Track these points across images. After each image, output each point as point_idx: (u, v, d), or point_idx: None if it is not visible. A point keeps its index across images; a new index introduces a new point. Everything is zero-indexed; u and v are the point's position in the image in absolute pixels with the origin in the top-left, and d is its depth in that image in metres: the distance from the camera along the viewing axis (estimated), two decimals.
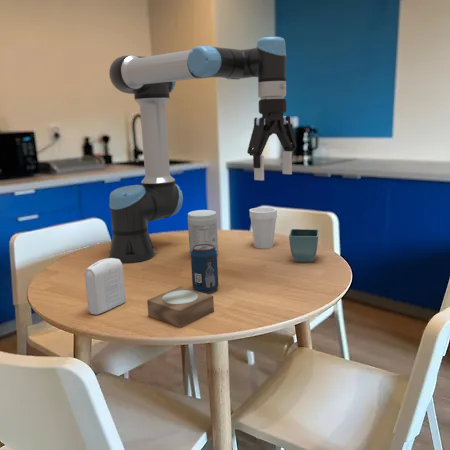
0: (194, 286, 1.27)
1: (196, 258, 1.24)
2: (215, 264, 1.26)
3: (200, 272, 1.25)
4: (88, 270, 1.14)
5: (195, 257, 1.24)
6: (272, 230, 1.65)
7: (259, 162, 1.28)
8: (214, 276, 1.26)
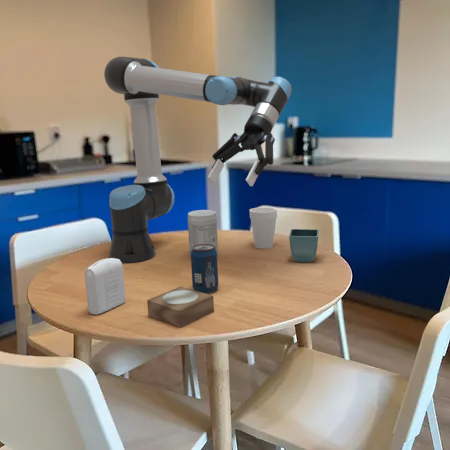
0: (194, 286, 1.27)
1: (196, 258, 1.24)
2: (215, 264, 1.26)
3: (200, 272, 1.25)
4: (88, 270, 1.14)
5: (195, 257, 1.24)
6: (272, 230, 1.65)
7: None
8: (214, 276, 1.26)
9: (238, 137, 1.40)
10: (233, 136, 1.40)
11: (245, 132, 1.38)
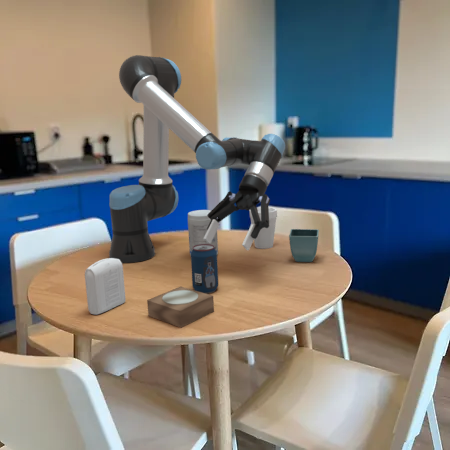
0: (194, 286, 1.27)
1: (196, 258, 1.24)
2: (215, 264, 1.26)
3: (200, 272, 1.25)
4: (88, 270, 1.14)
5: (195, 257, 1.24)
6: (272, 230, 1.65)
7: None
8: (214, 276, 1.26)
9: (233, 196, 1.40)
10: (228, 195, 1.40)
11: (240, 191, 1.38)
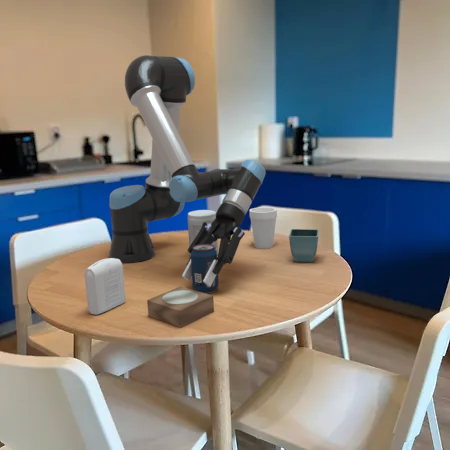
0: (194, 286, 1.27)
1: (196, 258, 1.24)
2: None
3: (200, 272, 1.25)
4: (88, 270, 1.14)
5: (195, 257, 1.24)
6: (272, 230, 1.65)
7: None
8: None
9: (209, 225, 1.35)
10: (204, 226, 1.35)
11: (215, 219, 1.34)
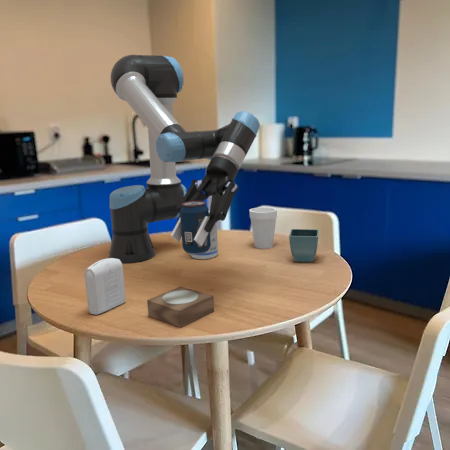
0: (184, 246, 1.16)
1: (185, 215, 1.13)
2: None
3: (190, 230, 1.14)
4: (88, 270, 1.14)
5: (184, 213, 1.13)
6: (272, 230, 1.65)
7: None
8: None
9: (199, 182, 1.23)
10: (193, 182, 1.23)
11: (206, 175, 1.23)
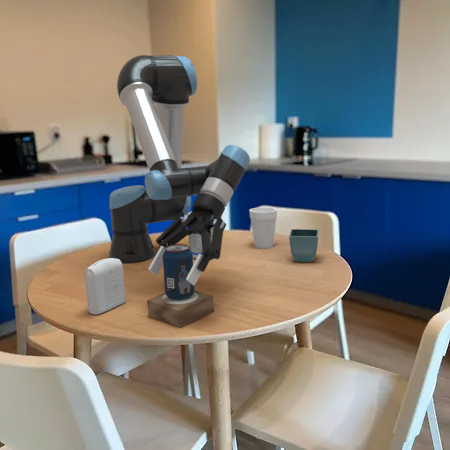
0: (166, 292, 1.11)
1: (168, 260, 1.09)
2: (190, 267, 1.10)
3: (172, 276, 1.09)
4: (88, 270, 1.14)
5: (167, 259, 1.09)
6: (272, 230, 1.65)
7: None
8: None
9: (185, 217, 1.19)
10: (179, 216, 1.19)
11: (193, 212, 1.18)
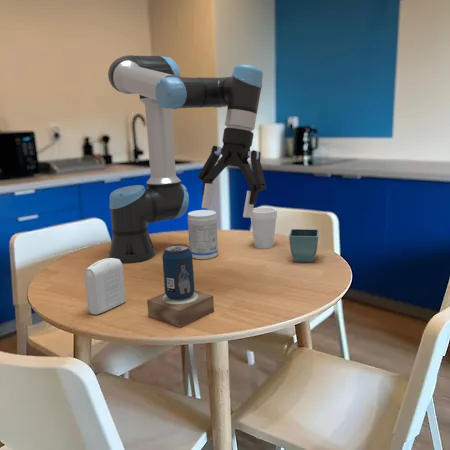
0: (166, 292, 1.11)
1: (167, 260, 1.09)
2: (190, 267, 1.10)
3: (172, 276, 1.09)
4: (88, 270, 1.14)
5: (166, 259, 1.09)
6: (272, 230, 1.65)
7: None
8: (189, 281, 1.11)
9: (219, 150, 1.24)
10: (213, 150, 1.25)
11: (225, 145, 1.22)
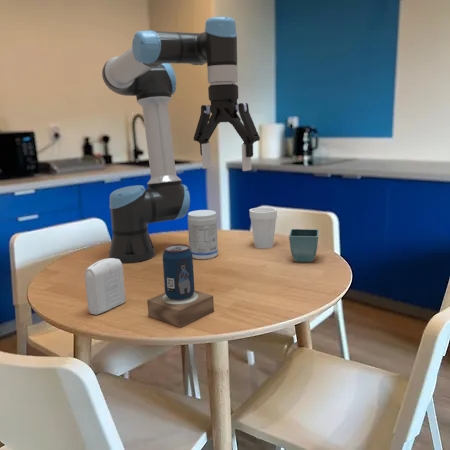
0: (166, 292, 1.11)
1: (168, 260, 1.09)
2: (190, 267, 1.10)
3: (172, 276, 1.09)
4: (88, 270, 1.14)
5: (167, 259, 1.09)
6: (272, 230, 1.65)
7: None
8: (189, 281, 1.11)
9: (208, 109, 1.25)
10: (202, 110, 1.25)
11: (213, 103, 1.23)
